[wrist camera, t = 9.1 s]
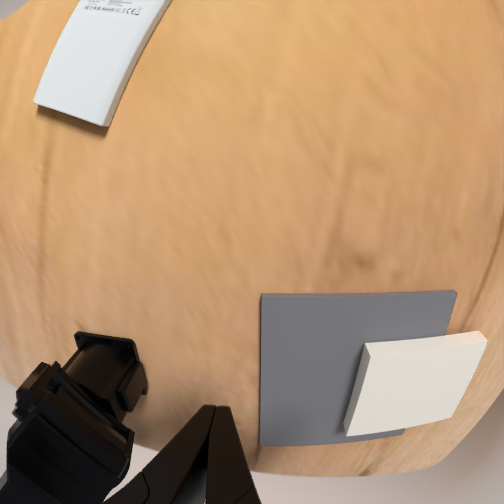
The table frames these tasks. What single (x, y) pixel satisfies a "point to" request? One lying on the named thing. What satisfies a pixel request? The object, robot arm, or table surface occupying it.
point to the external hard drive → (97, 57)
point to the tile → (411, 381)
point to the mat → (331, 356)
